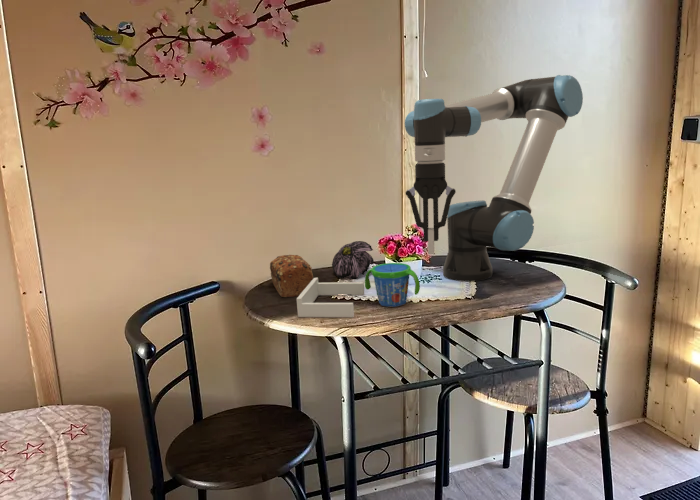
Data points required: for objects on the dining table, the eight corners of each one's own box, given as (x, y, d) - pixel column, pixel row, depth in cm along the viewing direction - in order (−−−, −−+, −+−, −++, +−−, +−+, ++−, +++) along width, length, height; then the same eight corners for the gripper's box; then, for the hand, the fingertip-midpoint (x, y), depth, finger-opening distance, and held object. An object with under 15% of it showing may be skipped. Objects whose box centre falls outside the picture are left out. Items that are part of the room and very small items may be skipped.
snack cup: (357, 304, 149) (355, 268, 147) (379, 294, 157) (377, 260, 155) (407, 313, 140) (405, 275, 138) (427, 302, 148) (426, 265, 146)
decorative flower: (317, 247, 178) (354, 228, 184) (323, 275, 185) (358, 255, 191) (343, 266, 168) (381, 245, 174) (348, 295, 174) (384, 273, 181)
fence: (364, 293, 158) (363, 277, 157) (353, 317, 139) (352, 298, 138) (315, 294, 161) (314, 277, 160) (298, 317, 142) (296, 298, 141)
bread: (314, 294, 161) (312, 262, 159) (278, 299, 158) (275, 266, 156) (303, 279, 178) (300, 249, 176) (270, 283, 176) (267, 253, 173)
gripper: (403, 164, 136) (405, 256, 141) (456, 162, 134) (456, 256, 139) (405, 162, 143) (407, 250, 148) (455, 160, 141) (456, 249, 146)
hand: (431, 253), depth 143 cm, fingers closed
